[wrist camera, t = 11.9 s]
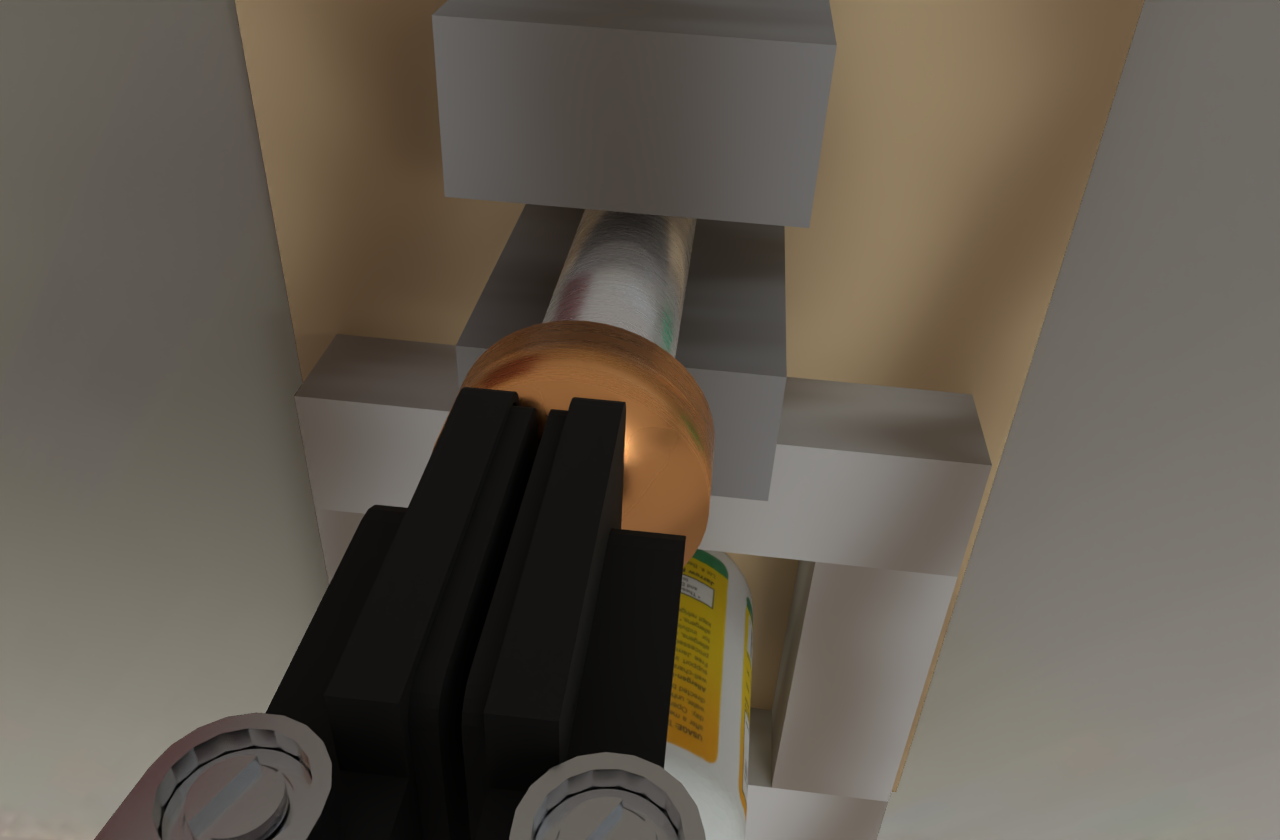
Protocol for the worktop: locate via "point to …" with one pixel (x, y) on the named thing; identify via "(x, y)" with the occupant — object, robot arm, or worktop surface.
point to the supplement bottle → (713, 693)
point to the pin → (622, 363)
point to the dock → (853, 278)
